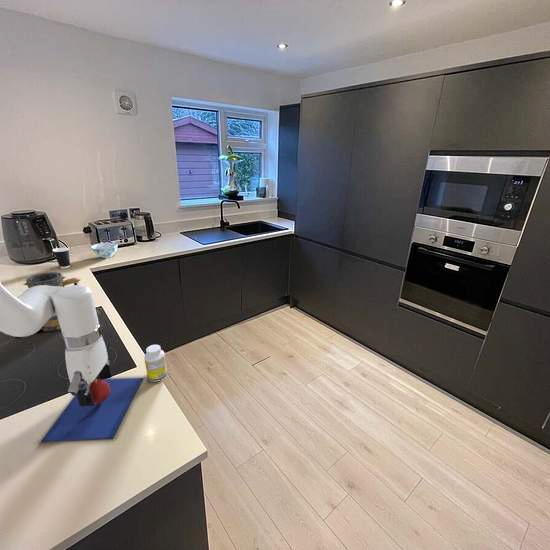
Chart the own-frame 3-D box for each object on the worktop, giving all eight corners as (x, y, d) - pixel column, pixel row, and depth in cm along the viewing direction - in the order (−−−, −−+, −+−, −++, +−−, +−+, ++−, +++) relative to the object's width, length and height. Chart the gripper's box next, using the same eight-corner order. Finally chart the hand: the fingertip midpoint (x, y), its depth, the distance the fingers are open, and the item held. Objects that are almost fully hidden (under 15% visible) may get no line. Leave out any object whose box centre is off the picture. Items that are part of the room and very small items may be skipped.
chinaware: (98, 253, 197) (96, 242, 194) (122, 252, 200) (120, 242, 197) (90, 260, 184) (87, 249, 181) (115, 259, 186) (113, 248, 183)
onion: (86, 400, 78) (79, 377, 75) (109, 391, 81) (104, 368, 78) (90, 414, 74) (83, 390, 71) (114, 403, 77) (109, 380, 74)
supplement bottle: (153, 369, 90) (148, 342, 87) (170, 370, 90) (166, 343, 86) (144, 382, 85) (139, 353, 82) (162, 383, 85) (158, 354, 81)
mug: (37, 322, 114) (22, 275, 107) (87, 310, 124) (76, 266, 117) (37, 337, 105) (21, 287, 98) (91, 322, 115) (80, 276, 108)
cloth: (41, 441, 67) (41, 440, 67) (87, 380, 85) (87, 379, 85) (113, 438, 68) (113, 437, 68) (143, 379, 86) (142, 377, 86)
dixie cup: (76, 265, 176) (72, 247, 172) (66, 269, 168) (62, 251, 164) (63, 264, 176) (59, 247, 172) (53, 269, 169) (48, 251, 164)
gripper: (85, 317, 77) (98, 369, 84) (42, 358, 61) (62, 418, 68) (114, 317, 78) (125, 368, 84) (79, 357, 62) (95, 417, 68)
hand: (97, 390), depth 76 cm, fingers open, 9 cm apart
